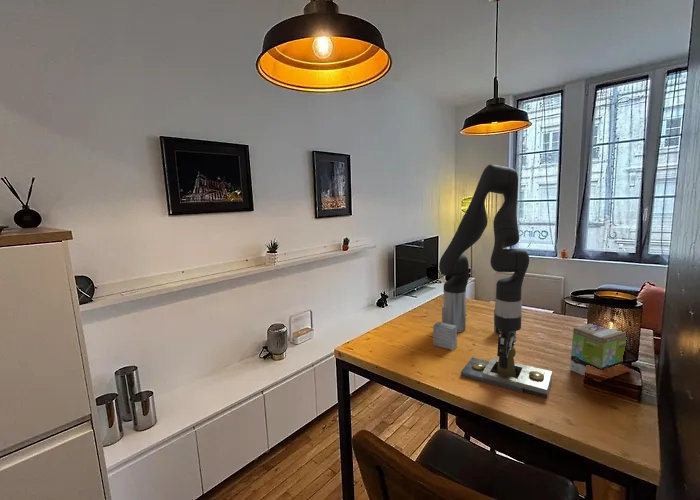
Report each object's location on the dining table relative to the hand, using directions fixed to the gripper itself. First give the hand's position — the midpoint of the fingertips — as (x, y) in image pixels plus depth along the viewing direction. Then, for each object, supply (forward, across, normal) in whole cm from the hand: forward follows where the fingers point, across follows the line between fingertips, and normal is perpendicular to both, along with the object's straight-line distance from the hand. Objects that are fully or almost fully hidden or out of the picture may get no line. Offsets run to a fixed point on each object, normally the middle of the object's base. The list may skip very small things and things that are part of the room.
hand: (506, 361), depth 110 cm
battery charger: (+6, -37, -9) cm, 39 cm away
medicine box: (+6, -13, -25) cm, 29 cm away
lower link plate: (+6, 0, -3) cm, 7 cm away
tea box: (+6, -20, +24) cm, 32 cm away
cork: (+6, 0, 0) cm, 6 cm away
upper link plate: (+6, 0, +3) cm, 6 cm away
